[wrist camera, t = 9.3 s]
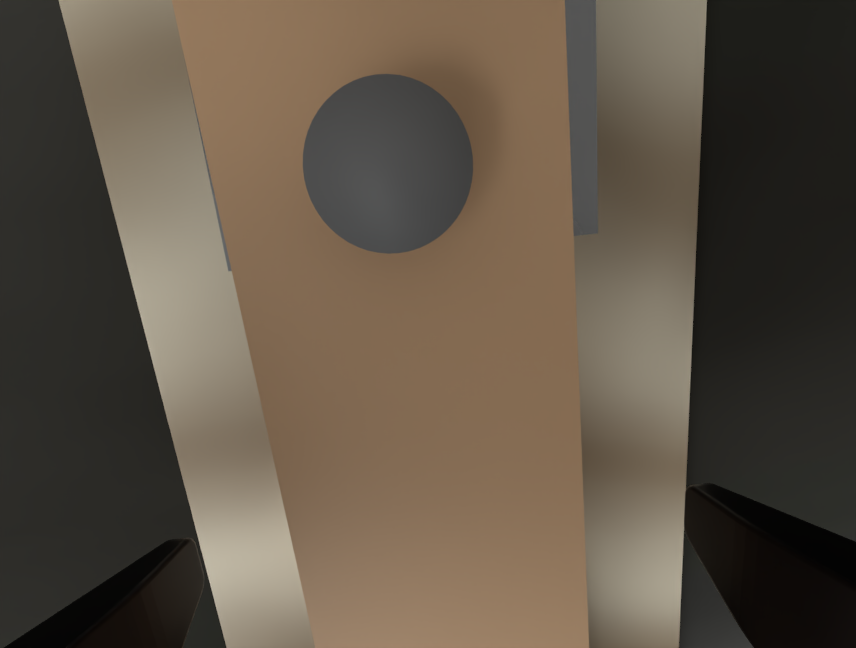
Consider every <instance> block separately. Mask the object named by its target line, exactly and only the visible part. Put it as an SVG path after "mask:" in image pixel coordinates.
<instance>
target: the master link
mask: <svg viewBox="0 0 856 648" xmlns="http://www.w3.org/2000/svg"><path fill="white" fill-rule="evenodd" d="M172 4H173V8H174V13H175V17H176V22H177V26H178V31H179V36H180V40H181V45H182V49H183V54H184V58H185V63H186V67H187V72H188V76H189V81H190V85H191V90H192V94H193V99H194V103H195V108H196V112H197V117H198V121H199V126H200V130H201V135H202V139H203V144H204V148H205V153H206V157H207V162H208V166H209V171H210V175H211V180H212V184H213V189H214V193H215V198H216V202H217V207H218V212H219V216H220V221H221V225H222V230H223V234H224V239H225V243H226V248H227V252H228V257H229V261H230V266H231V270H232V275H233V279H234V284H235V288H236V293H237V297H238V302H239V306H240V311H241V315H242V320H243V324H244V329H245V333H246V338H247V342H248V347H249V351H250V356H251V360H252V365H253V369H254V374H255V378H256V383H257V388H258V392H259V397H260V401H261V406H262V410H263V415H264V419H265V424H266V428H267V433H268V437H269V442H270V446H271V451H272V455H273V460H274V464H275V469H276V473H277V478H278V482H279V487H280V491H281V496H282V500H283V505H284V509H285V514H286V518H287V523H288V527H289V532H290V536H291V541H292V545H293V550H294V554H295V559H296V564H297V568H298V573H299V577H300V582H301V586H302V591H303V595H304V600H305V604H306V609H307V613H308V618H309V622H310V627H311V631H312V636H313V640H314V645H315V648H589V631H588V605H587V578H586V552H585V525H584V499H583V472H582V445H581V419H580V392H579V366H578V339H577V312H576V286H575V259H574V233H573V206H572V180H571V153H570V126H569V100H568V73H567V47H566V20H565V0H172Z"/></svg>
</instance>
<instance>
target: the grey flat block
mask: <svg viewBox="0 0 856 648" xmlns="http://www.w3.org/2000/svg"><path fill="white" fill-rule="evenodd" d="M565 20H566V47H567V73H568V100H569V126H570V153H571V180H572V206H573V233H574V236H579V235H589V234H598V173H597V52H596V0H565ZM184 59H185V58H184ZM185 64H186V63H185ZM186 68H187V67H186ZM187 73H188V72H187ZM188 78H189V76H188ZM189 83H190V81H189ZM190 88H191V85H190ZM191 93H192V90H191ZM192 98H193V94H192ZM193 102H194V99H193ZM194 107H195V103H194ZM195 112H196V108H195ZM196 117H197V112H196ZM197 122H198V127H199V132H200V136H201V141H202V146H203V151H204V156H205V161H206V165H207V170H208V175H209V180H210V185H211V190H212V195H213V199H214V204H215V209H216V214H217V219H218V224H219V228H220V233H221V238H222V243H223V248H224V253H225V258H226V262H227V267H228V271H232V270H231V266H230V261H229V257H228V252H227V248H226V243H225V239H224V234H223V230H222V225H221V221H220V216H219V212H218V207H217V202H216V198H215V193H214V189H213V184H212V180H211V175H210V171H209V166H208V162H207V157H206V153H205V148H204V144H203V139H202V135H201V130H200V126H199V121H198V117H197Z"/></svg>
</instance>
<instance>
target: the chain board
mask: <svg viewBox="0 0 856 648" xmlns="http://www.w3.org/2000/svg"><path fill="white" fill-rule="evenodd" d="M59 3H60V7H61V11H62V15H63V19H64V23H65V27H66V30H67V34H68V38H69V42H70V46H71V50H72V54H73V57H74V61H75V65H76V69H77V73H78V77H79V80H80V84H81V88H82V92H83V96H84V100H85V104H86V107H87V111H88V115H89V119H90V123H91V127H92V131H93V134H94V138H95V142H96V146H97V150H98V154H99V158H100V161H101V165H102V169H103V173H104V177H105V181H106V185H107V188H108V192H109V196H110V200H111V204H112V208H113V212H114V215H115V219H116V223H117V227H118V231H119V235H120V239H121V242H122V246H123V250H124V254H125V258H126V262H127V266H128V269H129V273H130V277H131V281H132V285H133V289H134V293H135V296H136V300H137V304H138V308H139V312H140V316H141V319H142V323H143V327H144V331H145V335H146V339H147V343H148V346H149V350H150V354H151V358H152V362H153V366H154V370H155V373H156V377H157V381H158V385H159V389H160V393H161V397H162V400H163V404H164V408H165V412H166V416H167V420H168V424H169V427H170V431H171V435H172V439H173V443H174V447H175V451H176V454H177V458H178V462H179V466H180V470H181V474H182V478H183V481H184V485H185V489H186V493H187V497H188V501H189V505H190V508H191V512H192V516H193V520H194V524H195V528H196V532H197V535H198V539H199V543H200V547H201V551H202V555H203V558H204V562H205V566H206V570H207V574H208V578H209V582H210V585H211V589H212V593H213V597H214V601H215V605H216V609H217V612H218V616H219V620H220V624H221V628H222V632H223V636H224V639H225V643H226V647H227V648H315V645H314V640H313V636H312V631H311V627H310V622H309V618H308V613H307V609H306V604H305V600H304V595H303V591H302V586H301V582H300V577H299V573H298V568H297V564H296V559H295V554H294V550H293V545H292V541H291V536H290V532H289V527H288V523H287V518H286V514H285V509H284V505H283V500H282V496H281V491H280V487H279V482H278V478H277V473H276V469H275V464H274V460H273V455H272V451H271V446H270V442H269V437H268V433H267V428H266V424H265V419H264V415H263V410H262V406H261V401H260V397H259V392H258V388H257V383H256V378H255V374H254V369H253V365H252V360H251V356H250V351H249V347H248V342H247V338H246V333H245V329H244V324H243V320H242V315H241V311H240V306H239V302H238V297H237V293H236V288H235V284H234V279H233V275H232V271H228V267H227V262H226V258H225V253H224V248H223V243H222V238H221V233H220V228H219V224H218V219H217V214H216V209H215V204H214V199H213V195H212V190H211V185H210V180H209V175H208V170H207V165H206V161H205V156H204V151H203V146H202V141H201V136H200V132H199V127H198V122H197V117H196V112H195V107H194V102H193V98H192V93H191V88H190V83H189V78H188V73H187V68H186V64H185V59H184V54H183V49H182V45H181V40H180V36H179V31H178V26H177V22H176V17H175V13H174V8H173V4H172V0H59ZM706 10H707V0H596V52H597V173H598V234H589V235H579V236H574V259H575V286H576V312H577V339H578V366H579V392H580V419H581V445H582V472H583V499H584V525H585V552H586V578H587V605H588V631H589V648H679V631H680V608H681V585H682V562H683V539H684V508H685V491H686V470H687V447H688V424H689V401H690V378H691V355H692V332H693V309H694V286H695V263H696V240H697V217H698V194H699V171H700V148H701V125H702V102H703V79H704V56H705V33H706Z"/></svg>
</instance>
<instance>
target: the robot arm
mask: <svg viewBox="0 0 856 648" xmlns="http://www.w3.org/2000/svg"><path fill="white" fill-rule="evenodd" d="M684 529H685V533H686V535H687V538H688V540H689V542H690V543H691V545H692V547H693V549H694V550H695V552H696V554H697V555H698V557H699V559H700V561H701V562H702V564H703V566H704V568H705V569H706V571H707V573H708V574H709V576H710V578H711V580H712V581H713V583H714V585H715V587H716V588H717V590H718V592H719V593H720V595H721V597H722V599H723V600H724V602H725V604H726V606H727V607H728V609H729V611H730V612H731V614H732V616H733V617H734V619H735V620H736V622H737V624H738V625H739V627H740V628H741V630H742V631H743V633H744V634H745V636H746V637H747V639H748V640H749V642H750V643H751V644H752V646H753V647H754V648H856V542H855V541H853V540H850V539H848V538H845V537H843V536H840V535H838V534H835V533H833V532H830V531H828V530H825V529H823V528H821V527H818V526H816V525H813V524H811V523H808V522H806V521H803V520H801V519H798V518H796V517H793V516H791V515H789V514H786V513H784V512H781V511H779V510H776V509H774V508H771V507H769V506H766V505H764V504H761V503H759V502H757V501H754V500H752V499H749V498H747V497H744V496H742V495H739V494H737V493H734V492H732V491H729V490H727V489H725V488H722V487H720V486H717V485H715V484H711V483H706V484H697V485H690V486H689V487H687V489H686V491H685V508H684ZM203 586H204V573H203V569H202V565H201V561H200V558H199V554H198V550H197V546H196V543H195V541H194V540H193V539H191V538H182V539H172V540H168V541H166V542H164V543H163V544H161V545H160V546H158V547H157V548H155V549H154V550H152V551H151V552H149V553H147V554H146V555H144V556H143V557H141V558H140V559H138V560H137V561H135V562H134V563H132V564H131V565H129V566H128V567H126V568H125V569H123V570H122V571H120V572H118V573H117V574H115V575H114V576H112V577H111V578H109V579H108V580H106V581H105V582H103V583H102V584H100V585H99V586H97V587H96V588H94V589H93V590H91V591H89V592H88V593H86V594H85V595H83V596H82V597H80V598H79V599H77V600H76V601H74V602H73V603H71V604H70V605H68V606H67V607H65V608H64V609H62V610H60V611H59V612H57V613H56V614H54V615H53V616H51V617H50V618H48V619H47V620H45V621H44V622H42V623H41V624H39V625H38V626H36V627H35V628H33V629H31V630H30V631H28V632H27V633H25V634H24V635H22V636H21V637H19V638H18V639H16V640H15V641H13V642H12V643H10V644H9V645H7V646H6V647H4V648H183V645H184V642H185V639H186V636H187V634H188V631H189V628H190V625H191V622H192V619H193V616H194V614H195V611H196V608H197V605H198V602H199V599H200V597H201V594H202V591H203Z"/></svg>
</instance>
